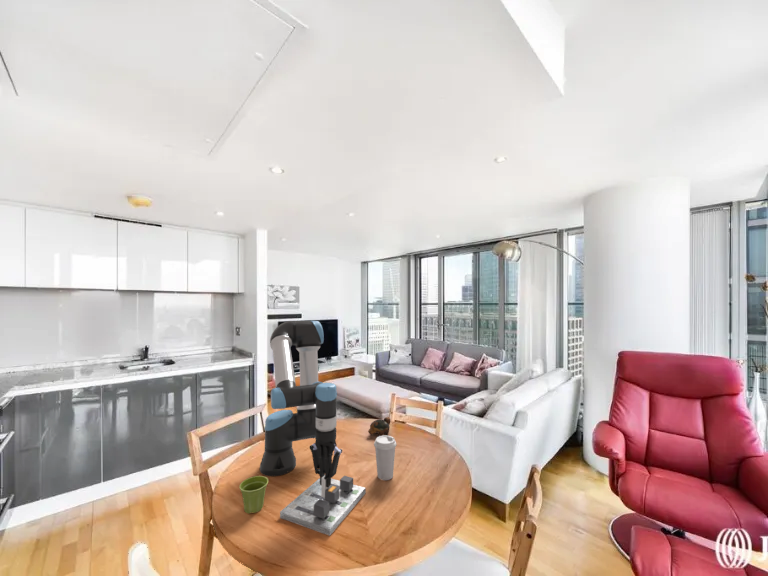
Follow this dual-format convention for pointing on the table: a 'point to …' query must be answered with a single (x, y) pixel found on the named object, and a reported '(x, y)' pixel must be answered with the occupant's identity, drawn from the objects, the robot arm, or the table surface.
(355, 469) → the table surface
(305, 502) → the panel
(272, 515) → the table surface
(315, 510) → the block
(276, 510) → the table surface
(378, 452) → the coffee cup
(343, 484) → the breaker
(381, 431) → the decorative turtle
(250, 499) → the plant pot
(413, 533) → the table surface
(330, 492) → the breaker
